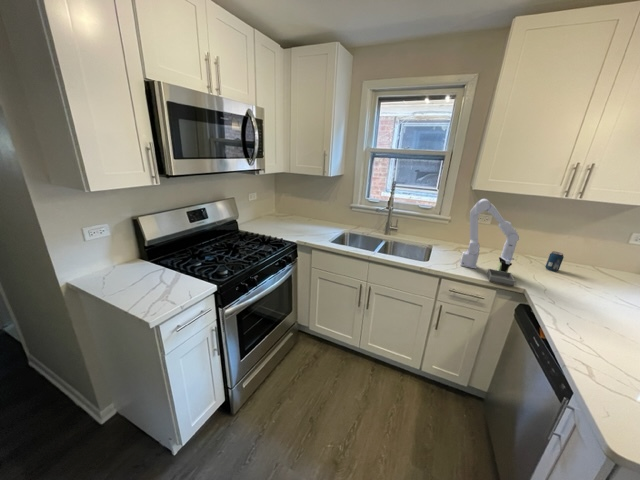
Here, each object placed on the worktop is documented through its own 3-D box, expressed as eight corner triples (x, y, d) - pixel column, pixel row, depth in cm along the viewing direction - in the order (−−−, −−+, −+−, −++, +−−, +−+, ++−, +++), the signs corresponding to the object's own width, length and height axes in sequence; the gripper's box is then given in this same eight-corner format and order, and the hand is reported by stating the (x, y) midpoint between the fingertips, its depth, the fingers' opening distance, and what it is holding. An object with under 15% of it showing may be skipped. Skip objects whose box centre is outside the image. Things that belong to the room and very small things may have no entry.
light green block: (497, 273, 166) (500, 264, 164) (496, 270, 170) (499, 262, 168) (506, 275, 164) (509, 266, 162) (505, 272, 168) (507, 263, 166)
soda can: (549, 267, 180) (555, 250, 176) (560, 271, 174) (567, 254, 170) (542, 268, 178) (548, 251, 174) (553, 272, 172) (560, 255, 168)
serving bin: (489, 281, 155) (490, 276, 154) (486, 273, 165) (488, 268, 164) (513, 286, 150) (515, 281, 149) (509, 278, 161) (510, 272, 159)
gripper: (518, 255, 154) (512, 276, 159) (513, 248, 167) (507, 267, 172) (504, 253, 157) (498, 273, 162) (500, 246, 170) (494, 265, 174)
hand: (502, 270), depth 167 cm, fingers closed on light green block, 5 cm apart
